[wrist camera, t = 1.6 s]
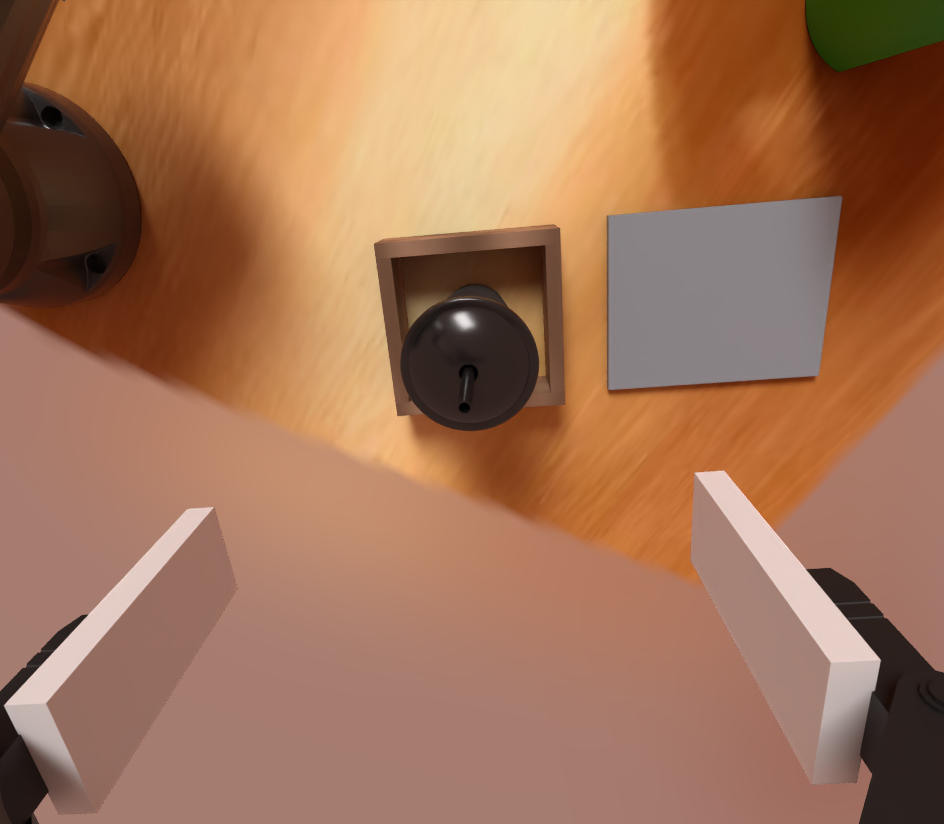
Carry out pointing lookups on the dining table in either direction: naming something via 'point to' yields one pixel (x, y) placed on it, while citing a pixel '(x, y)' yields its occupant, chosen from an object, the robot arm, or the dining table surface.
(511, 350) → the drinking cup
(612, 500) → the dining table surface
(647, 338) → the slate mat
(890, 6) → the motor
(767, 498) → the dining table surface
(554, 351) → the walnut collar
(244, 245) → the dining table surface
